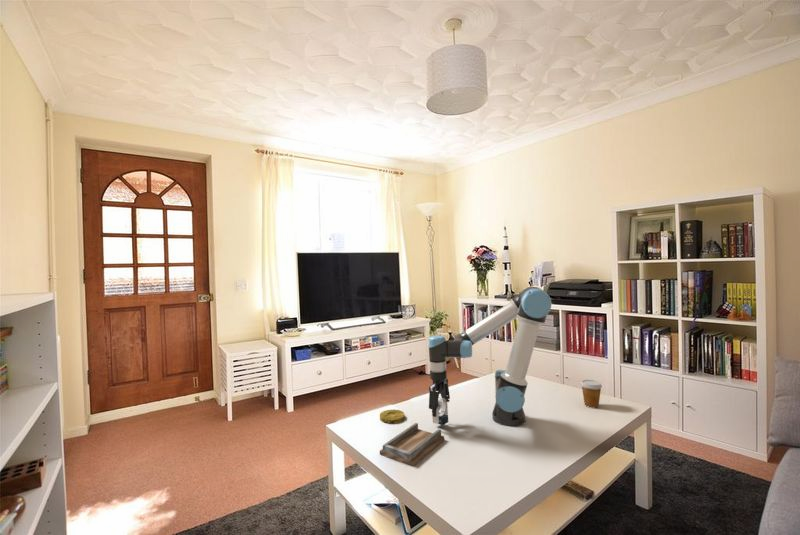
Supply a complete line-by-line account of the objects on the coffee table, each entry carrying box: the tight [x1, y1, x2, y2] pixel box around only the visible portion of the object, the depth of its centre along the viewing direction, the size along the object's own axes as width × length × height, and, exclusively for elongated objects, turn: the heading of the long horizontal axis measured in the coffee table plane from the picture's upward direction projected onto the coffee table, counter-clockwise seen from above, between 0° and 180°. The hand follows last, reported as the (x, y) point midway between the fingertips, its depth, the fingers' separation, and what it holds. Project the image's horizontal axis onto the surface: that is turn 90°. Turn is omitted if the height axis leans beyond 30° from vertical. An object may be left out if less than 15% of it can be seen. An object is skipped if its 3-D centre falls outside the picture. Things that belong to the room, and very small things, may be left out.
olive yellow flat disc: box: [379, 409, 405, 424], centre depth 183 cm, size 12×12×2 cm
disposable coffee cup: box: [580, 379, 603, 408], centre depth 191 cm, size 10×10×12 cm
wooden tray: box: [379, 422, 445, 467], centre depth 154 cm, size 16×24×4 cm, turn 145°
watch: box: [437, 396, 449, 426], centre depth 172 cm, size 6×8×11 cm
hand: (440, 419), depth 172 cm, fingers closed on watch, 8 cm apart
